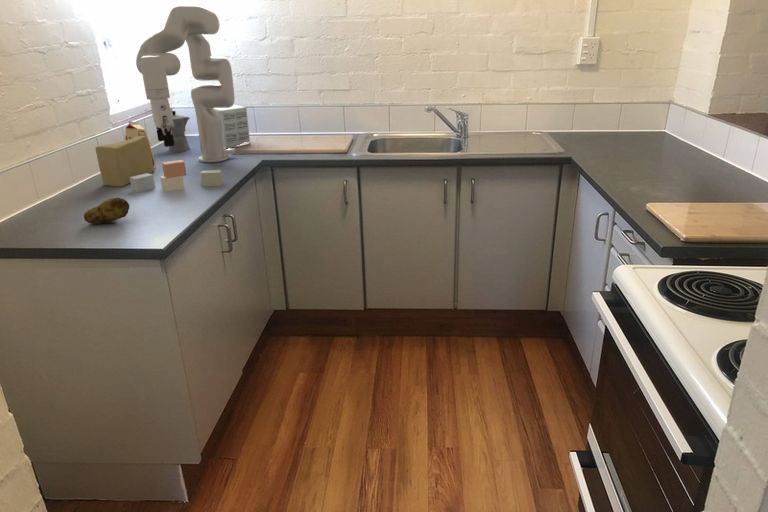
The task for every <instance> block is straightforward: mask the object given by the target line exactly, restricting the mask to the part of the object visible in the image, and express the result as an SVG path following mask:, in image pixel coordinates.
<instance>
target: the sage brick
mask: <svg viewBox="0 0 768 512" xmlns="http://www.w3.org/2000/svg"><path fill="white" fill-rule="evenodd" d="M199 174H200V175H199V176H200V182H201V187H216V186H217V187H220V186H222V185H223V183H224V179H223V171H222V169H213V170H212V169H211V170H210V169H209V170H201V171H200V173H199Z"/></svg>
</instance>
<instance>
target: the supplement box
mask: <svg viewBox="0 0 768 512" xmlns="http://www.w3.org/2000/svg"><path fill="white" fill-rule="evenodd" d="M213 109H214V110H215V111H216V112H217V114H218V115H219V117H220V122H221V131H222V139H223V147H224V148H228V149H229V148H230V149H233V148H232V147H234V148H236V147H235V146H237V145H240V144H242V143H244V142H249V141H250V138H251V137H250V130H249V129H250V128H249V119H248V111H247V107H246V106H244V105H239V104H235V103H234V104H233V106H232V107H229V108H213ZM250 142H251V141H250Z"/></svg>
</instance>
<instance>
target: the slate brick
mask: <svg viewBox="0 0 768 512" xmlns="http://www.w3.org/2000/svg"><path fill="white" fill-rule="evenodd" d="M130 187H131V191H133V192H137V193H140V192H144V191H148V190H152V189H155V188H156V184H155V178H154V174H152V173H150V174H148V173H146V174H142V175H138V176H133V177H130Z"/></svg>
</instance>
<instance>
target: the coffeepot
mask: <svg viewBox="0 0 768 512" xmlns="http://www.w3.org/2000/svg"><path fill="white" fill-rule="evenodd" d="M171 113H172V118H173V123H174V127H173V128H172V127H171V126H170V127H171V131H172V134H173V140H174V146H168V150H169V152H172V153H182V152H187V151H189V150H190V149H191V148H190V146H189V142H188V139H187V136H186V133H185V132H186V125H187V124H188V122H189V120H190V119H191V117H189V116H184V115H178V114H176V110H171Z"/></svg>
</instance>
